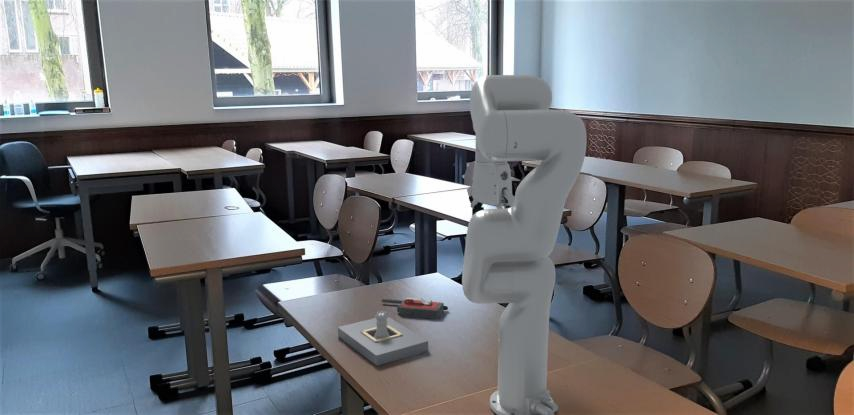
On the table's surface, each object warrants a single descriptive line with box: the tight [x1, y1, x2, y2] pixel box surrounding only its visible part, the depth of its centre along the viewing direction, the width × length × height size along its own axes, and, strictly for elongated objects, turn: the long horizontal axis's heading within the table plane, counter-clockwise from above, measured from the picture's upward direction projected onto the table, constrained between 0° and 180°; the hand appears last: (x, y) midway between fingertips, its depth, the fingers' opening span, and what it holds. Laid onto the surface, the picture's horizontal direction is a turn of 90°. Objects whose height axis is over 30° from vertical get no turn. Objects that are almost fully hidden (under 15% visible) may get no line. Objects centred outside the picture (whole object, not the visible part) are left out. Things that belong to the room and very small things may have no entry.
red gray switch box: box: [381, 296, 449, 320], centre depth 177 cm, size 9×4×20 cm
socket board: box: [337, 316, 429, 366], centre depth 156 cm, size 20×14×3 cm
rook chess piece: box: [374, 310, 390, 340], centre depth 155 cm, size 4×4×8 cm
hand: (490, 227), depth 154 cm, fingers open, 9 cm apart
